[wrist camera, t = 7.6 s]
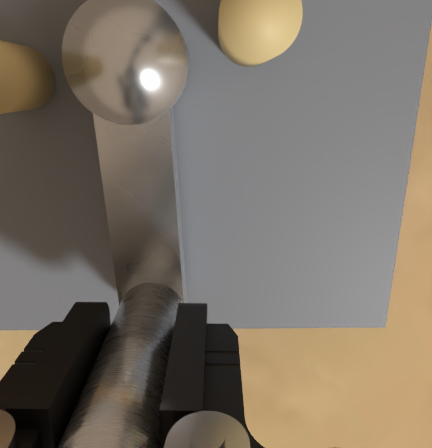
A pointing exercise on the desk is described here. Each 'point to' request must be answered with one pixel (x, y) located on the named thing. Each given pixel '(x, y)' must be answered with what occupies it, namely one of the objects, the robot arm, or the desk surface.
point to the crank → (132, 209)
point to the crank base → (225, 161)
